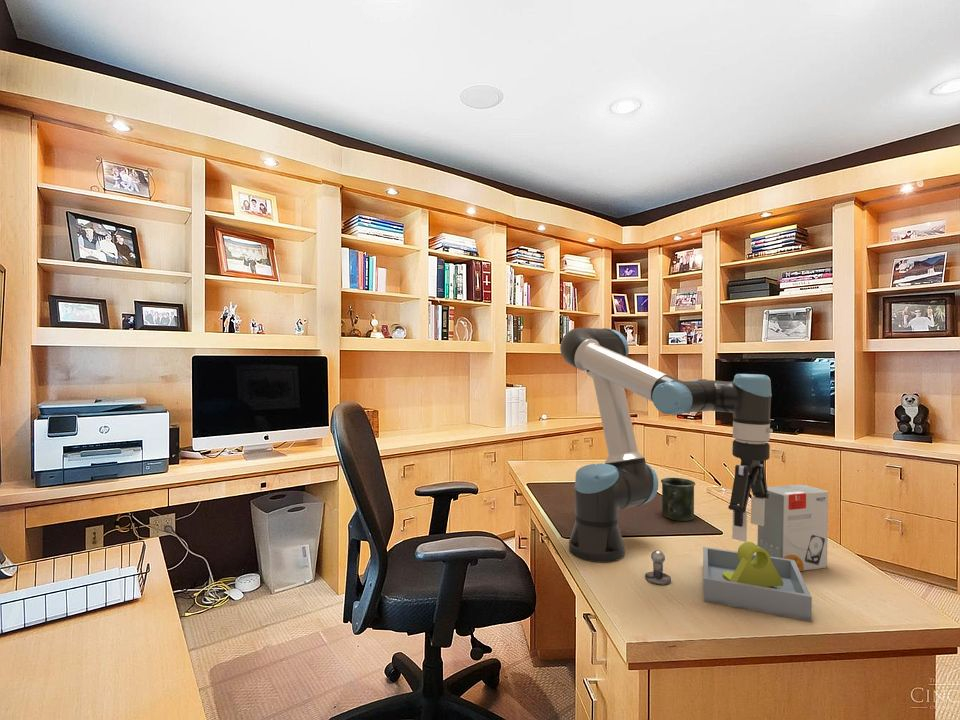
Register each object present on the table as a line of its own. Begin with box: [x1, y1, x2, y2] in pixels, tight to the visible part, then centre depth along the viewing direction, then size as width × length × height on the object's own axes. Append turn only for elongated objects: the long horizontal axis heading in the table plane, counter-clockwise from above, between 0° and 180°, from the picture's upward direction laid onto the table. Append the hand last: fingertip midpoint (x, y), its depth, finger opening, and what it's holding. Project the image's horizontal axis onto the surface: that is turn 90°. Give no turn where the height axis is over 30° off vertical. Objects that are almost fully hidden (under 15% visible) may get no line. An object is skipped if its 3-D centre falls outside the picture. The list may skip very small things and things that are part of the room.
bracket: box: [722, 541, 783, 588], centre depth 112 cm, size 11×6×10 cm, turn 95°
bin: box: [702, 546, 813, 622], centre depth 112 cm, size 20×20×5 cm
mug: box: [660, 477, 696, 522], centre depth 163 cm, size 11×15×12 cm
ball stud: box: [644, 549, 672, 586], centre depth 117 cm, size 6×6×7 cm
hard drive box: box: [756, 483, 829, 572], centre depth 125 cm, size 16×8×20 cm, turn 106°
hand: (748, 532), depth 112 cm, fingers open, 13 cm apart
